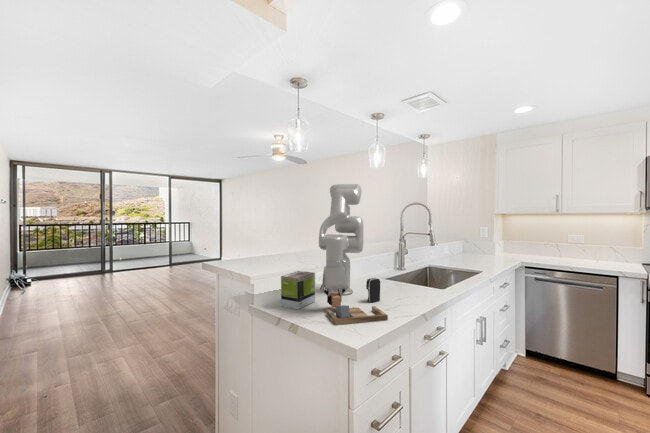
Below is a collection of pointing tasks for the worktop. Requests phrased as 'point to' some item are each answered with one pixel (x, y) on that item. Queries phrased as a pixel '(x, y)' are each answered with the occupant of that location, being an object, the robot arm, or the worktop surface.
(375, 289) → the battery charger
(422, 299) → the worktop surface
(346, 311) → the grey stub
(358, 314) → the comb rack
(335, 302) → the terracotta stub
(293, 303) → the tea box
